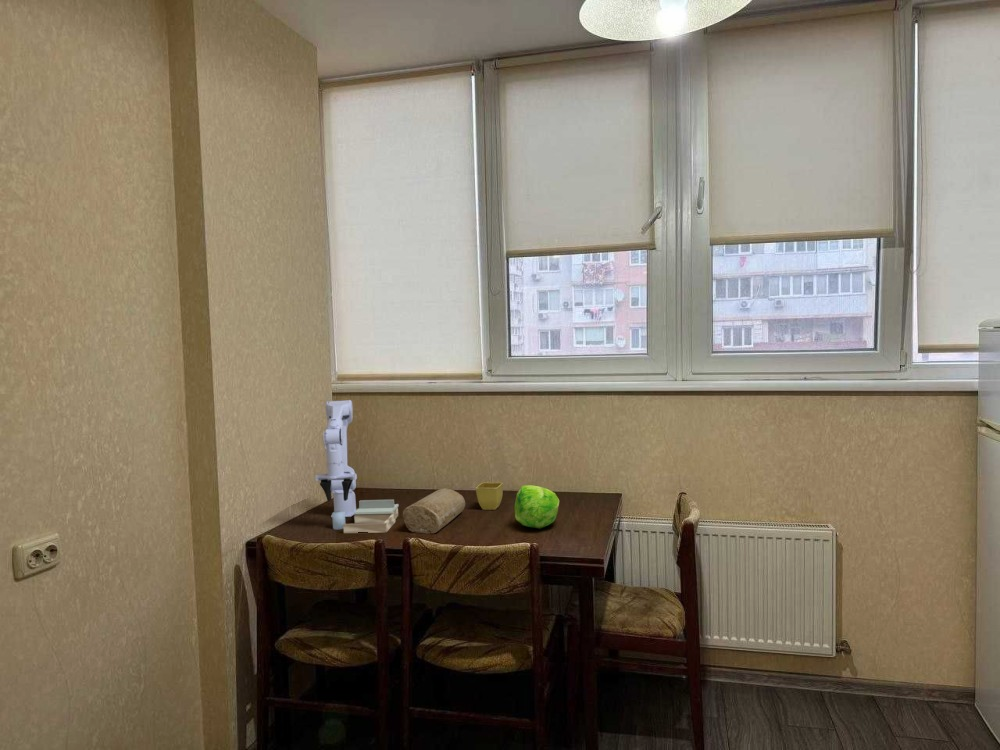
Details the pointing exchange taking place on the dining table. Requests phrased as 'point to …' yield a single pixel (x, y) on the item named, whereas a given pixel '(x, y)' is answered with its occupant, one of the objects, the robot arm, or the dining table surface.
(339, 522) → the pale blue cylinder
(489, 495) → the flower pot
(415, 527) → the core sample
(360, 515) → the frame
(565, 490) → the dining table surface
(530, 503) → the lettuce
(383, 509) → the lid
